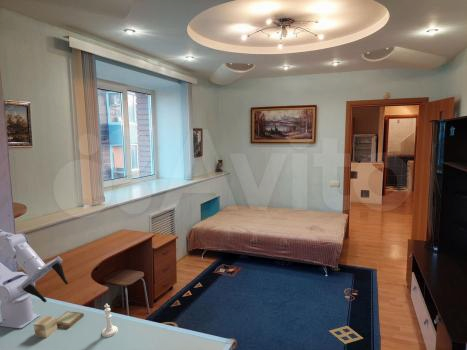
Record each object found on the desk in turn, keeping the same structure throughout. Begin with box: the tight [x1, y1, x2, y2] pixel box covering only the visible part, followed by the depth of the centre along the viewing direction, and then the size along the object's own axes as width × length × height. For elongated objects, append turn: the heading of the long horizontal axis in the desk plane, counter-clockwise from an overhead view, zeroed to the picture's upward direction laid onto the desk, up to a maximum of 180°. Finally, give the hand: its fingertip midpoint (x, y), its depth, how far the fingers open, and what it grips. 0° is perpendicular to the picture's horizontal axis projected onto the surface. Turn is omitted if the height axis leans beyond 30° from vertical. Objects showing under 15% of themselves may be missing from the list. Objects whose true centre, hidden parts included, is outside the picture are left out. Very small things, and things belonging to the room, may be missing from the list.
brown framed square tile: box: [56, 311, 85, 329], centre depth 112 cm, size 7×7×1 cm
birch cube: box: [33, 315, 58, 339], centre depth 105 cm, size 4×4×4 cm
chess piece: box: [101, 303, 119, 338], centre depth 103 cm, size 5×5×10 cm
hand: (56, 292), depth 104 cm, fingers open, 7 cm apart
